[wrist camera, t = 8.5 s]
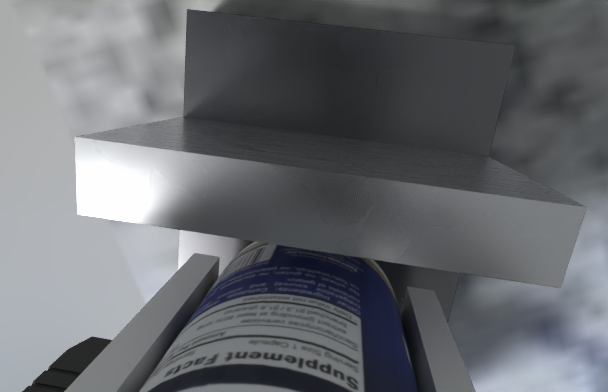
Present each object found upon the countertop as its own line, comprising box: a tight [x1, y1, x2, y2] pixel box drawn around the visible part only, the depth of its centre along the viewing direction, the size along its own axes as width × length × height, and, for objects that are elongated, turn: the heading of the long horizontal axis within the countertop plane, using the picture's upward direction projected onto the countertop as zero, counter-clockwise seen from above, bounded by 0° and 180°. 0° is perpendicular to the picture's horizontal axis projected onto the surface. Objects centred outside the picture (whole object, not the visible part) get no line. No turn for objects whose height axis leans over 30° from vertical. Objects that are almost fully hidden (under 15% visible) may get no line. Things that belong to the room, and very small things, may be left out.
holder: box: [75, 9, 587, 323], centre depth 12 cm, size 16×9×6 cm, turn 173°
